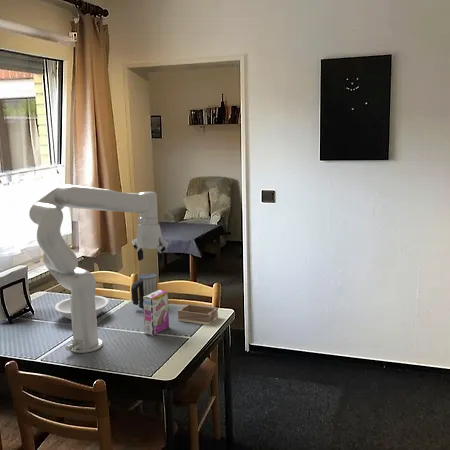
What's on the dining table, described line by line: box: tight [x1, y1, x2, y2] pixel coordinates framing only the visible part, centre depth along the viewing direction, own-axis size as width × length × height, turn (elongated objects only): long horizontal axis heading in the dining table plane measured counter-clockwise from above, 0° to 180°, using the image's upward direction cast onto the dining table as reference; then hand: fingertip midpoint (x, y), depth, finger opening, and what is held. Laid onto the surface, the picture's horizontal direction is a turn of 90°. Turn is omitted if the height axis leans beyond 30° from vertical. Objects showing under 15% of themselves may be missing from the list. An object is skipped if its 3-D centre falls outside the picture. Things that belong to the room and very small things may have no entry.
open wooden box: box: [177, 304, 219, 326], centre depth 236 cm, size 9×15×4 cm, turn 65°
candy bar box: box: [142, 289, 170, 337], centre depth 223 cm, size 11×5×16 cm, turn 149°
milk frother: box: [130, 272, 157, 309], centre depth 252 cm, size 14×16×15 cm
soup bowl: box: [54, 295, 110, 320], centre depth 243 cm, size 24×24×7 cm
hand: (150, 260), depth 227 cm, fingers open, 9 cm apart
